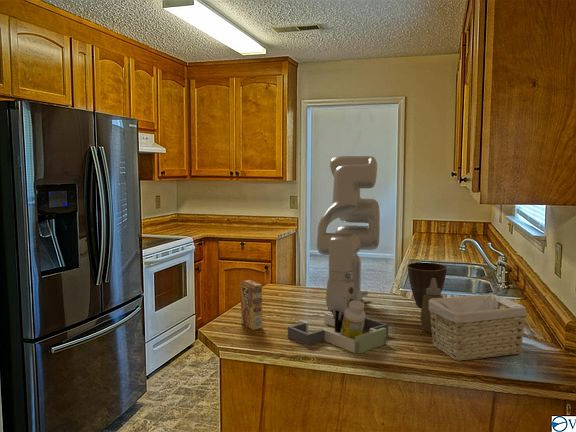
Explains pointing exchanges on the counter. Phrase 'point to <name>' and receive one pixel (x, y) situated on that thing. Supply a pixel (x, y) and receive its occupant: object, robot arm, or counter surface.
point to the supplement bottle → (353, 320)
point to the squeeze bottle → (425, 313)
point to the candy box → (251, 304)
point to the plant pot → (425, 278)
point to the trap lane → (368, 340)
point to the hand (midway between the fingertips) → (340, 331)
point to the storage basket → (477, 326)
